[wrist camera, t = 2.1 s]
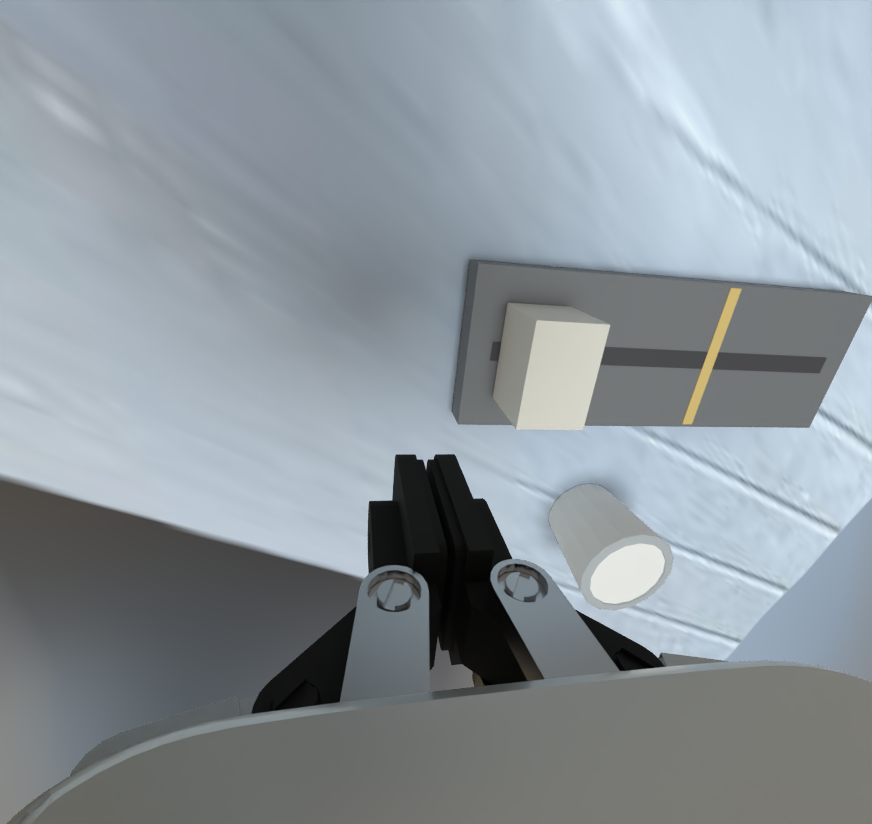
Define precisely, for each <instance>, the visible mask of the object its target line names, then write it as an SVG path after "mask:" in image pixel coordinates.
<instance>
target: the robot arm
mask: <svg viewBox="0 0 872 824" xmlns="http://www.w3.org/2000/svg"><path fill="white" fill-rule="evenodd" d="M368 567H369V574H368V575H367V576H366V578H365V579H364V580H363V582H362V585H361V587H360V591H359V597H358V603H357V606H356V607H355V608H354V609H353V610H352V611H350V612H349V613H348V614H347V615H346V616H345V617H343V618H342V619H341V620H340V621H339V622H338V623H337V624H335V625H334V626H333V627H332V628H331V629H330V630H328V631H327V632H326V633H325V634H324V635H323V636H322V637H321V638H319V639H318V640H317V641H316V642H315V643H313V645H311V646H310V647H309V648H308V649H307V650H305V651H304V652H303V653H302V654H301V655H300V656H299V657H297V658H296V659H295V660H294V661H293V662H292V663H290V664H289V665H288V666H287V667H286V668H285V669H284V670H282V671H281V672H280V673H279V674H278V675H277V676H275V677H274V678H273V679H272V680H271V681H270V682H269V683H268V684H267V685H266V686H265V687H264V688H263V689H262V691H261V692H260V693H259V695H258V696H255V697H252V698H249V699H246V700H243V701H239V696H235V697H232V698H229V699H226V700H223V701H219V702H216V703H213V704H210V705H207V706H203V707H200V708H197V709H194V710H191V711H188V712H184V713H181V714H178V715H175V716H172V717H168V718H165V719H162V720H159V721H156V722H153V723H150V724H146V725H143V726H140V727H137V728H134V729H131V730H127V731H124V732H121V733H119V734H117V735H114V736H112V737H110V738H108V739H106V740H104V741H102V742H101V743H100V744H98V745H97V746H96V747H95V748H93V749H92V750H91V751H89V752H88V753H87V754H86V755H85V756H84V757H83V758H82V760H81V761H80V762H79V763H78V764H77V766H76V767H75V768H74V769H73V771H72V772H71V774H70V776H69V777H67V778H66V779H64V780H63V781H61V782H59V783H58V784H56V785H55V786H53V787H52V788H50V789H48V790H47V791H45V792H44V793H43V794H41V795H40V796H38V797H37V798H36V799H34V800H33V801H32V802H30V803H29V804H28V805H27V806H25V807H24V808H23V809H22V810H21V811H19V812H18V813H17V814H16V815H15V816H14V817H13V818H12V819H11V820H10V821H9V822H8V823H7V824H872V682H871V681H868V680H866V679H863V678H860V677H857V676H854V675H851V674H848V673H845V672H841V671H837V670H834V669H829V668H826V667H821V666H818V665H811V664H804V663H796V662H787V661H768V660H760V661H730V662H729V661H722V660H714V659H707V658H699V657H691V656H684V655H676V654H668V653H661V654H660V656H659V658H657V657H656V656H655V655H654V654H653V653H652V652H650V651H649V650H647V649H646V648H644V647H643V646H641V645H640V644H638V643H636V642H634V641H632V640H630V639H628V638H627V637H625V636H623V635H621V634H619V633H617V632H616V631H614V630H612V629H610V628H608V627H606V626H604V625H603V624H601V623H599V622H597V621H595V620H593V619H592V618H590V617H588V616H586V615H584V614H582V613H580V612H579V611H577V610H575V609H574V608H573V606H572V605H571V604H570V602H569V601H568V600H567V598H566V597H565V596H564V594H563V593H562V591H561V590H560V589H559V587H558V586H557V585H556V583H555V582H554V581H553V579H552V578H551V577H550V575H549V574H548V573H547V572H546V571H545V570H544V569H542V568H541V567H539V566H538V565H536V564H534V563H531V562H529V561H526V560H520V559H512V557H511V555H510V553H509V550H508V548H507V546H506V544H505V542H504V539H503V537H502V535H501V533H500V531H499V528H498V526H497V524H496V522H495V520H494V518H493V515H492V513H491V511H490V509H489V507H488V504H487V502H486V501H485V500H484V499H473V497H472V494H471V492H470V490H469V487H468V485H467V482H466V480H465V478H464V475H463V473H462V470H461V468H460V466H459V463H458V461H457V458H456V456H455V455H454V454H447V455H435V456H434V460H428V461H427V469H425V465H424V462H423V460H417V458H416V455H396V456H395V468H394V483H393V499H392V501H369V513H368ZM437 637H438V638H439V643H440V648H441V650H448V651H449V654H450V660H451V665H456V664H463V665H464V666H466V667H467V668H469V669H470V670H472V671H473V672H472V680H473V684H474V687H471V688H461V689H452V690H443V691H434V692H430V670H431V669H432V667H433V666H434V660H435V652H436V645H437Z"/></svg>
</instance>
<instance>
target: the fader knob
mask: <svg viewBox="0 0 872 824" xmlns="http://www.w3.org/2000/svg"><path fill="white" fill-rule="evenodd" d="M609 328H610V324H608V323H606V322H604V321H601V320H599V319H597V318H595V317H593V316H590V315H588V314H586V313H584V312H582V311H579V310H577V309H575V308H573V307H569V306H554V305H539V304H524V303H508V304H507V310H506V316H505V323H504V329H503V335H502V341H501V348H500V354H499V360H498V367H497V373H496V379H495V385H494V392H493V399H494V400H495V401H496V403H497V404H498V406H499V407H500V408H501V410H502V411H503V412H504V414H505V415H506V416H507V418H508V419H509V420H510V422H511V423H512V425H513V426H514V427H515V429H518V430H583V429H584V425H585V421H586V417H587V413H588V410H589V406H590V402H591V398H592V394H593V390H594V386H595V382H596V379H597V375H598V371H599V367H600V363H601V359H602V355H603V352H604V348H605V344H606V340H607V336H608V332H609Z"/></svg>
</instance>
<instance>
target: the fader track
mask: <svg viewBox="0 0 872 824" xmlns="http://www.w3.org/2000/svg"><path fill="white" fill-rule="evenodd" d="M871 301H872V296H868V295H862V294H857V293H851V292H845V291H834V290H822V289H810V288H799V287H787V286H775V285H763V284H751V283H740V282H728V281H716V280H704V279H693V278H681V277H669V276H657V275H646V274H634V273H622V272H610V271H598V270H587V269H575V268H563V267H551V266H540V265H528V264H516V263H504V262H493V261H481V260H470V263H469V272H468V280H467V289H466V297H465V305H464V314H463V322H462V330H461V339H460V347H459V355H458V364H457V372H456V381H455V389H454V397H453V406H452V413H453V415H454V417H455V419H456V421H457V423H458V424H477V425H512V423H511V422H510V420H509V419H508V418H507V416H506V415H505V414H504V412H503V411H502V410H501V408H500V407H499V406H498V404H497V403H496V401H495V400H494V399H493V392H494V385H495V379H496V373H497V367H498V360H499V354H500V348H501V341H502V335H503V329H504V323H505V316H506V310H507V304H508V303H524V304H539V305H554V306H569V307H573V308H575V309H577V310H579V311H582V312H584V313H586V314H588V315H590V316H593V317H595V318H597V319H599V320H601V321H604V322H606V323H608V324H610V328H609V332H608V336H607V340H606V344H605V348H604V352H603V355H602V359H601V363H600V367H599V371H598V375H597V379H596V382H595V386H594V390H593V394H592V398H591V402H590V406H589V410H588V413H587V417H586V421H585V425H584V426H690V427H797V428H809V427H810V425H811V423H812V421H813V419H814V417H815V415H816V413H817V411H818V409H819V407H820V405H821V403H822V400H823V398H824V396H825V394H826V392H827V390H828V388H829V386H830V384H831V382H832V380H833V378H834V376H835V374H836V372H837V370H838V368H839V366H840V364H841V362H842V360H843V358H844V356H845V354H846V352H847V350H848V348H849V346H850V344H851V342H852V340H853V338H854V336H855V334H856V332H857V329H858V327H859V325H860V323H861V321H862V319H863V317H864V315H865V313H866V311H867V309H868V307H869V305H870V303H871Z"/></svg>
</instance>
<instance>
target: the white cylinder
mask: <svg viewBox="0 0 872 824" xmlns="http://www.w3.org/2000/svg"><path fill="white" fill-rule="evenodd" d="M549 524H550V527H551V529H552V531H553V533H554V535H555V537H556V539H557V542H558V544H559V546H560V548H561V550H562V552H563V554H564V557H565V559H566V561H567V563H568V565H569V567H570V569H571V571H572V574H573V576H574V578H575V580H576V582H577V584H578V586H579V589H580V591H581V593H582V594H583V596H584V598H585V600H586V602H587V603H589V604H591V605H592V606H594V607H596V608H598V609H605V610H618V609H622V608H627V607H631V606H633V605H635V604H637V603H639V602H641V601H643V600H645V599H647V598H648V597H650V596H651V595H652V594H653V593H654V592H655V591H656V590H658V589H659V588H660V587H661V586H662V585H663V583H664V582H665V580H666V579H667V577H668V575H669V574H670V572H671V569H672V563H673V558H674V557H673V554H672V551H671V548H670V546H669V544H667V543H666V542H665V541H664V540H663V539H662V538H661V537H660V536H658V535H657V534H656V533H655V532H654V531H653V530H652V529H650V528H649V527H648V526H647V525H646V524H645V523H644V522H643V521H641V520H640V519H639V518H638V517H637V516H636V515H635V514H633V513H632V512H631V511H630V510H629V509H628V508H627V507H626V506H624V505H623V504H622V503H621V502H620V501H619V500H618V499H616V498H615V497H614V496H613V495H612V494H611V493H610V492H608V491H607V490H606V489H604V488H603V487H602V486H600V485H594V484H584V485H579V486H575V487H573V488H572V489H570V490H568V491H566V492H564V493H563V494H562V495H561V496H560V497H559V498H558V499H557V500H556V501H555V502H554V504H553V506H552V508H551V511H550V513H549Z"/></svg>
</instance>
